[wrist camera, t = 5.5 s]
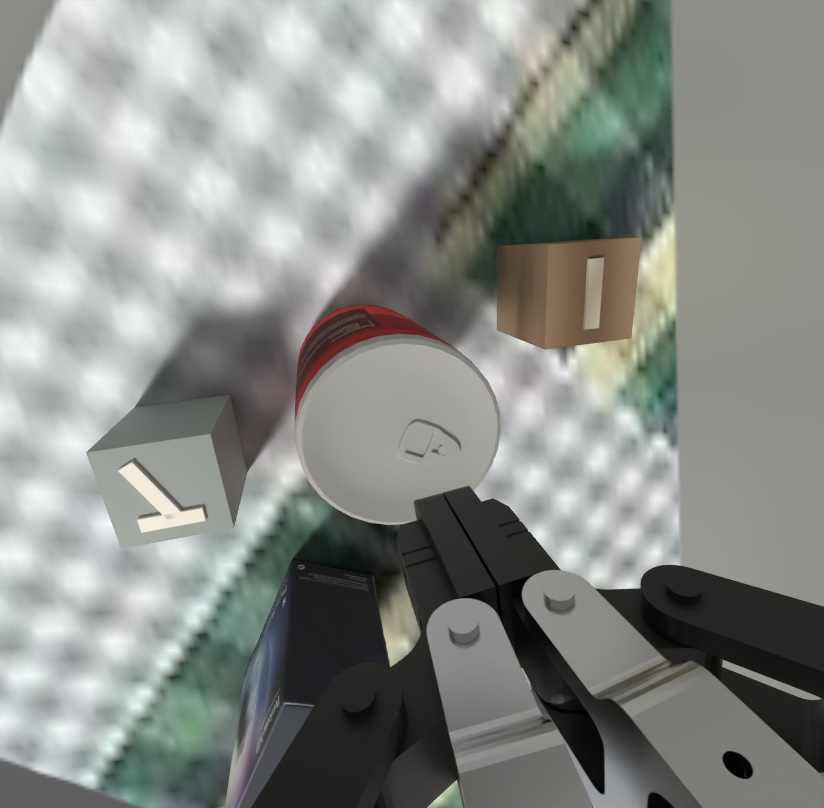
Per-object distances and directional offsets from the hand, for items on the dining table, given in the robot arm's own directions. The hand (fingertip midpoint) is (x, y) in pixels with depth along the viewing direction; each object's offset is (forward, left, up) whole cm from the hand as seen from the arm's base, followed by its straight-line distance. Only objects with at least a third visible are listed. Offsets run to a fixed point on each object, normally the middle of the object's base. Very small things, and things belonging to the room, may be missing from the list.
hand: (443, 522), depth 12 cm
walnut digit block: (-6, -10, -16) cm, 20 cm away
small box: (-7, +18, -17) cm, 25 cm away
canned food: (0, 0, -16) cm, 16 cm away
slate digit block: (+6, +9, -16) cm, 19 cm away
